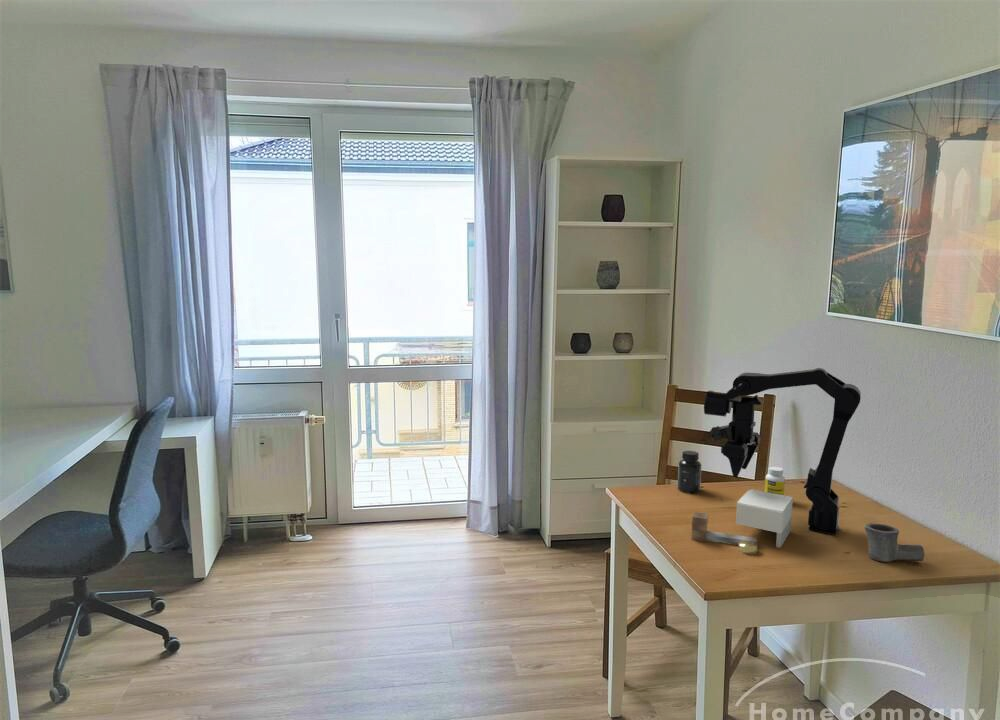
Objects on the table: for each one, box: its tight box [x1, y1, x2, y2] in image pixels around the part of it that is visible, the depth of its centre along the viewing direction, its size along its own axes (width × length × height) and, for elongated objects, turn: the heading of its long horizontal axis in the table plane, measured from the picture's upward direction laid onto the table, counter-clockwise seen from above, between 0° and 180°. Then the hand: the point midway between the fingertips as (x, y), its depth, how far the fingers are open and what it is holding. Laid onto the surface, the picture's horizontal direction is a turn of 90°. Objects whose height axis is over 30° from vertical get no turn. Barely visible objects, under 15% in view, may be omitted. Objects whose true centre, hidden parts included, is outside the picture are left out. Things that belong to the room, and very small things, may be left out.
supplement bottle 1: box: [677, 450, 702, 494], centre depth 206 cm, size 7×7×12 cm
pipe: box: [864, 522, 925, 563], centre depth 157 cm, size 6×13×8 cm, turn 79°
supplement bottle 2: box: [764, 466, 786, 496], centre depth 198 cm, size 5×5×10 cm
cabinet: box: [735, 488, 794, 549], centre depth 172 cm, size 11×13×10 cm
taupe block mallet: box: [690, 511, 757, 546], centre depth 168 cm, size 16×4×6 cm, turn 69°
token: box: [737, 541, 758, 555], centre depth 163 cm, size 4×4×2 cm
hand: (739, 472), depth 185 cm, fingers open, 9 cm apart
